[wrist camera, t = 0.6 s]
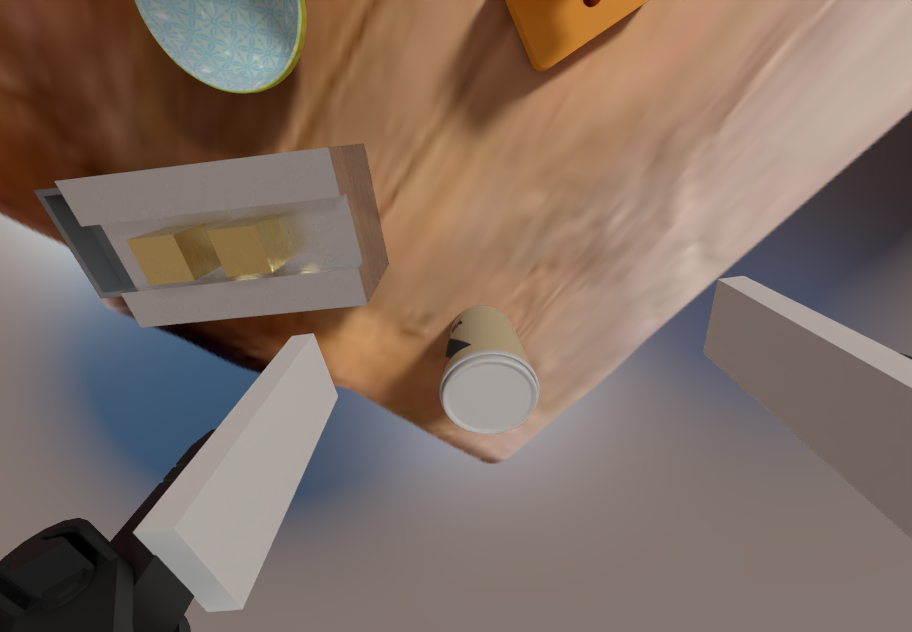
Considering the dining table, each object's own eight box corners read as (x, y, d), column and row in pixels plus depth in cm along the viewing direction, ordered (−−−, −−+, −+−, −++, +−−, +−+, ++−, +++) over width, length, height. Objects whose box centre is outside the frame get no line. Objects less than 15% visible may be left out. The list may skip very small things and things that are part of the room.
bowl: (238, 118, 33) (194, 115, 27) (156, -43, 28) (81, -88, 22) (351, 75, 31) (329, 62, 26) (286, -104, 26) (240, -168, 21)
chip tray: (65, 186, 35) (33, 190, 33) (179, 172, 35) (156, 175, 32) (124, 287, 40) (100, 298, 38) (225, 276, 40) (208, 287, 37)
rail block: (163, 168, 35) (54, 181, 25) (363, 143, 34) (328, 147, 24) (214, 282, 40) (140, 327, 31) (388, 264, 39) (367, 304, 30)
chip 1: (162, 228, 28) (125, 239, 25) (204, 223, 28) (172, 234, 25) (182, 269, 30) (150, 285, 27) (222, 265, 30) (194, 280, 27)
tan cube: (234, 220, 28) (206, 230, 25) (277, 215, 28) (255, 225, 25) (251, 262, 30) (226, 277, 26) (291, 257, 29) (272, 272, 26)
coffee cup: (446, 295, 41) (443, 352, 30) (526, 302, 41) (551, 361, 30) (440, 362, 45) (435, 433, 34) (513, 368, 45) (530, 440, 35)
